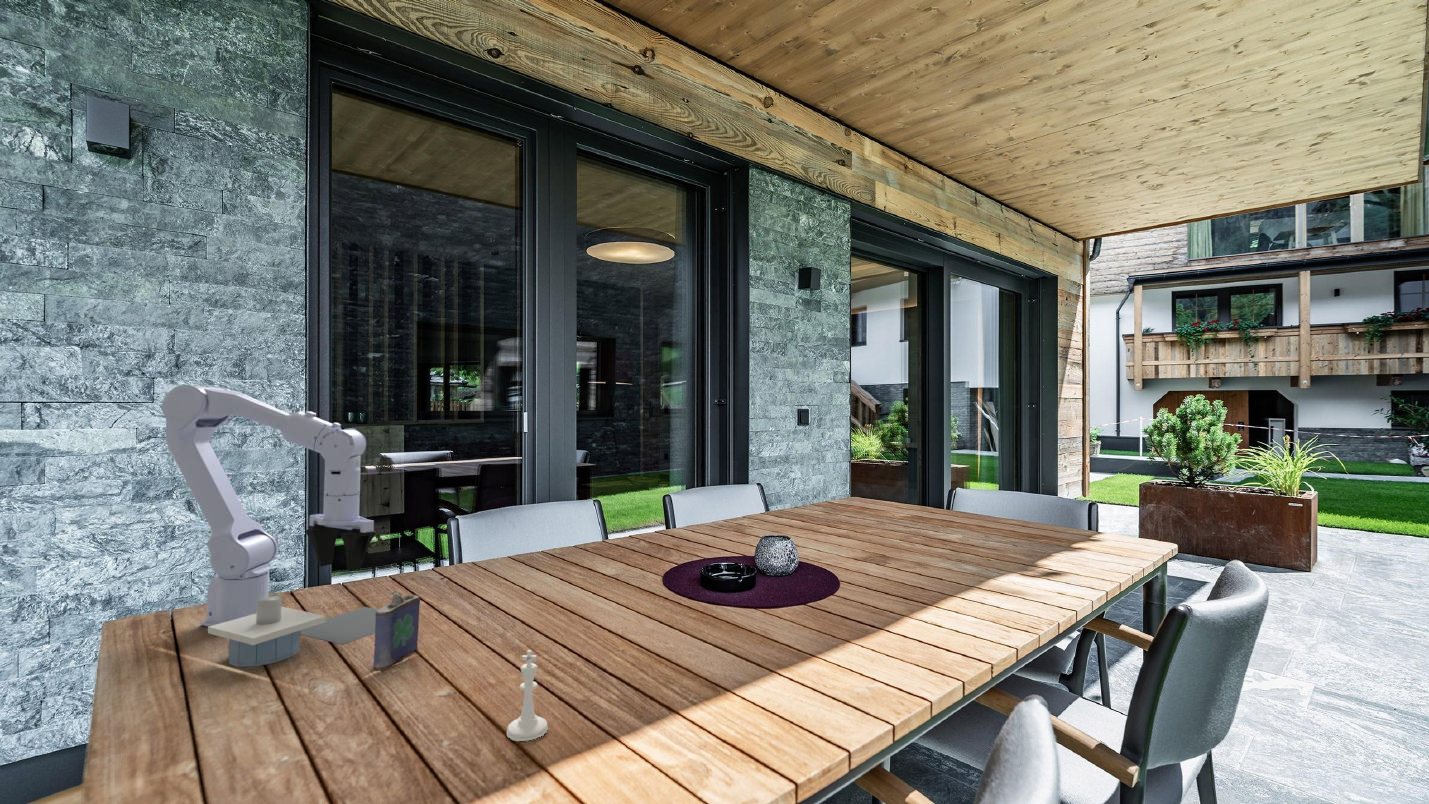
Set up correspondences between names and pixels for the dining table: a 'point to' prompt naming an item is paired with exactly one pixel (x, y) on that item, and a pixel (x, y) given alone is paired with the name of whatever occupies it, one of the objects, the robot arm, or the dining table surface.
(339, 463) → the robot arm
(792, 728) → the dining table surface
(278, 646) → the bowl
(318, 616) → the lid
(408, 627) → the flask
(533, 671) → the chess piece
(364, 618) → the mat
